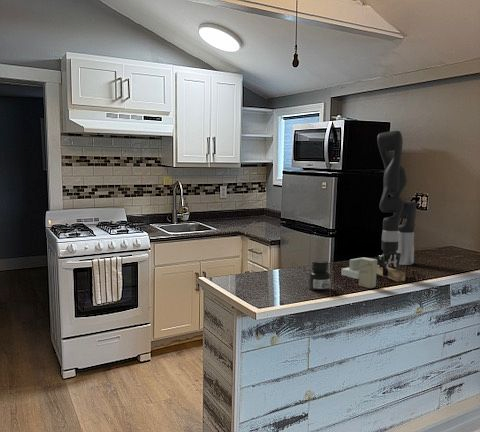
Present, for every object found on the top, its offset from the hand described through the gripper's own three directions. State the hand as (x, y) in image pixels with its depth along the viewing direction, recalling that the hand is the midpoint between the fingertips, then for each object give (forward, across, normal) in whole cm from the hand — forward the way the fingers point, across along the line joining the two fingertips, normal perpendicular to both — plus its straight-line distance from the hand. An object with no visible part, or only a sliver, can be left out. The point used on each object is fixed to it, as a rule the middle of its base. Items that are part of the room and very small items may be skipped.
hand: (388, 275), depth 217 cm
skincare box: (+1, +22, +6) cm, 23 cm away
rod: (+1, 0, 0) cm, 1 cm away
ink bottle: (+1, +42, -3) cm, 42 cm away
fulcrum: (+1, +10, -10) cm, 14 cm away
